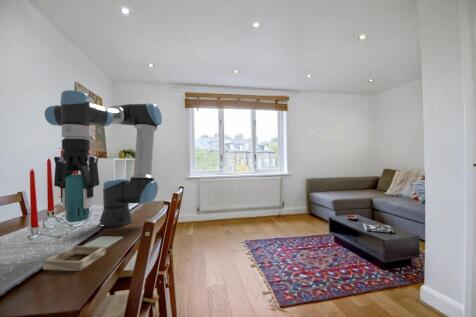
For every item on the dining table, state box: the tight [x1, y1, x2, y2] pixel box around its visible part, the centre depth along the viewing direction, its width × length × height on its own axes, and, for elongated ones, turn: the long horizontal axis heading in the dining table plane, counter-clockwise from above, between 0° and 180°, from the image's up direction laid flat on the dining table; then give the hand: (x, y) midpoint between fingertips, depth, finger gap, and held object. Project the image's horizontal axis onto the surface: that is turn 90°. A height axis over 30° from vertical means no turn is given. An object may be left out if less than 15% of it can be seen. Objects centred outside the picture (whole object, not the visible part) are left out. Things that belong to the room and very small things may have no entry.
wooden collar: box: [42, 245, 107, 272], centre depth 73 cm, size 12×12×2 cm
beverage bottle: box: [65, 165, 90, 223], centre depth 73 cm, size 6×7×20 cm
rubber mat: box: [83, 235, 124, 249], centre depth 89 cm, size 11×10×1 cm
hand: (77, 207), depth 73 cm, fingers closed on beverage bottle, 6 cm apart
